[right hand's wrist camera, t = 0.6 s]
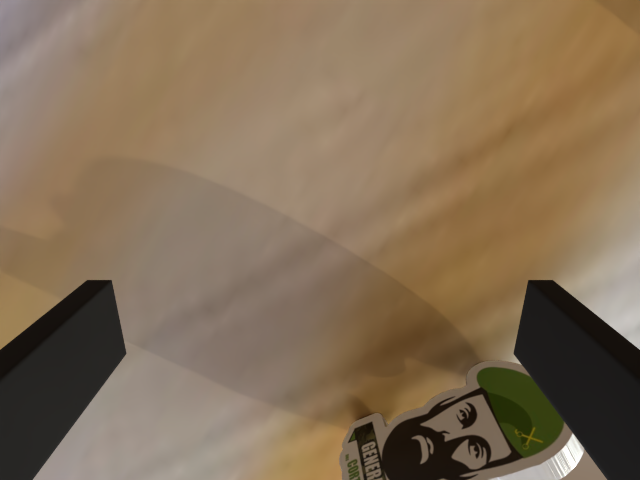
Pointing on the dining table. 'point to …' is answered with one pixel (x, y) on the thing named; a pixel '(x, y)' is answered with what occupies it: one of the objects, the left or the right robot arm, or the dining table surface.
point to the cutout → (467, 434)
